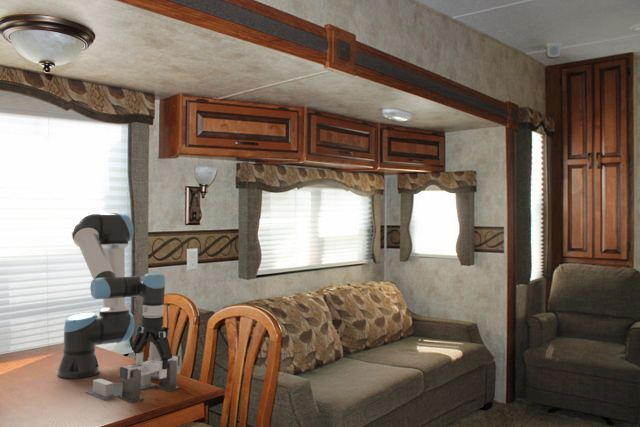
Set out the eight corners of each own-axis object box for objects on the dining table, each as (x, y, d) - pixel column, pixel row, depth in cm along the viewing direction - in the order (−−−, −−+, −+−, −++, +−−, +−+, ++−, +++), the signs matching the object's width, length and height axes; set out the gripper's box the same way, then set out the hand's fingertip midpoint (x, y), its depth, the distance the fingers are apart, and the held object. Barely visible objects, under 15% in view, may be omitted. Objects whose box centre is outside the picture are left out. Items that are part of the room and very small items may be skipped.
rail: (119, 377, 192) (119, 367, 192) (173, 363, 211) (173, 354, 211) (125, 379, 190) (126, 369, 190) (179, 365, 209) (179, 356, 209)
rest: (85, 392, 198) (85, 379, 198) (137, 378, 216) (137, 367, 216) (104, 400, 191) (105, 387, 191) (156, 385, 209) (157, 373, 209)
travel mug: (162, 380, 216) (164, 329, 216) (146, 378, 217) (148, 328, 217) (169, 375, 222) (171, 326, 222) (154, 374, 223) (156, 325, 223)
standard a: (117, 397, 194) (119, 368, 194) (130, 394, 199) (131, 365, 198) (131, 403, 190) (133, 372, 190) (144, 399, 194) (145, 369, 194)
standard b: (155, 387, 208) (156, 359, 207) (165, 384, 212) (167, 356, 212) (169, 391, 203) (170, 363, 203) (179, 388, 207) (180, 360, 207)
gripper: (123, 312, 205) (121, 369, 205) (166, 322, 190) (164, 383, 190) (140, 310, 211) (138, 365, 211) (183, 319, 196) (181, 378, 196)
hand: (150, 374), depth 201 cm, fingers open, 13 cm apart
